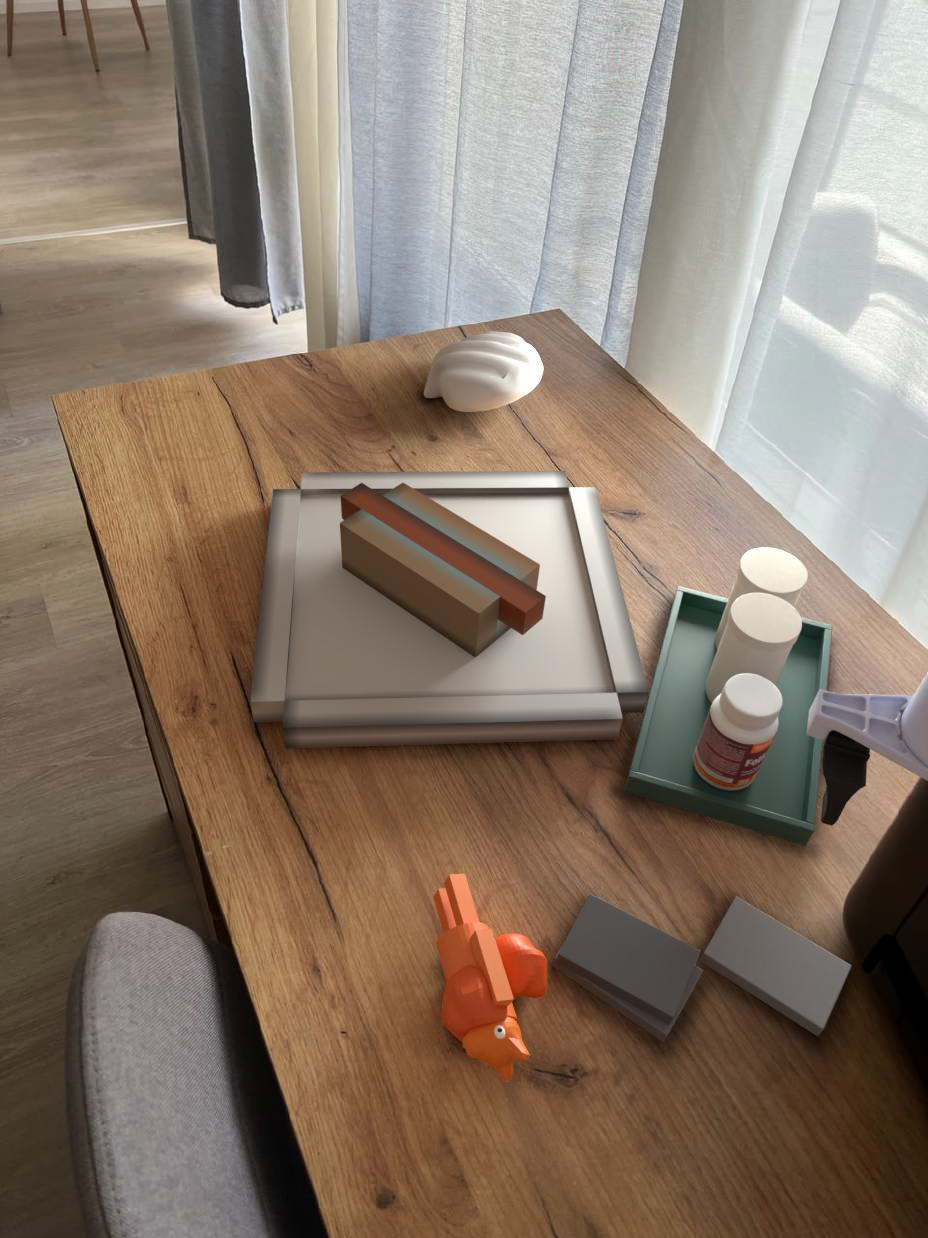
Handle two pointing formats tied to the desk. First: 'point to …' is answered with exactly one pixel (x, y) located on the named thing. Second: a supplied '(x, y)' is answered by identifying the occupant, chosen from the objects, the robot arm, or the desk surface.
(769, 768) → the tray
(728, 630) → the white cylinders
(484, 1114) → the desk surface
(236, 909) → the desk surface
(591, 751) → the desk surface
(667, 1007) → the grey books
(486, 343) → the shell shaped sculpture
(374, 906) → the desk surface
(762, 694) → the pill bottle
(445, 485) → the silver square tray
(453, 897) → the orange toy bird
